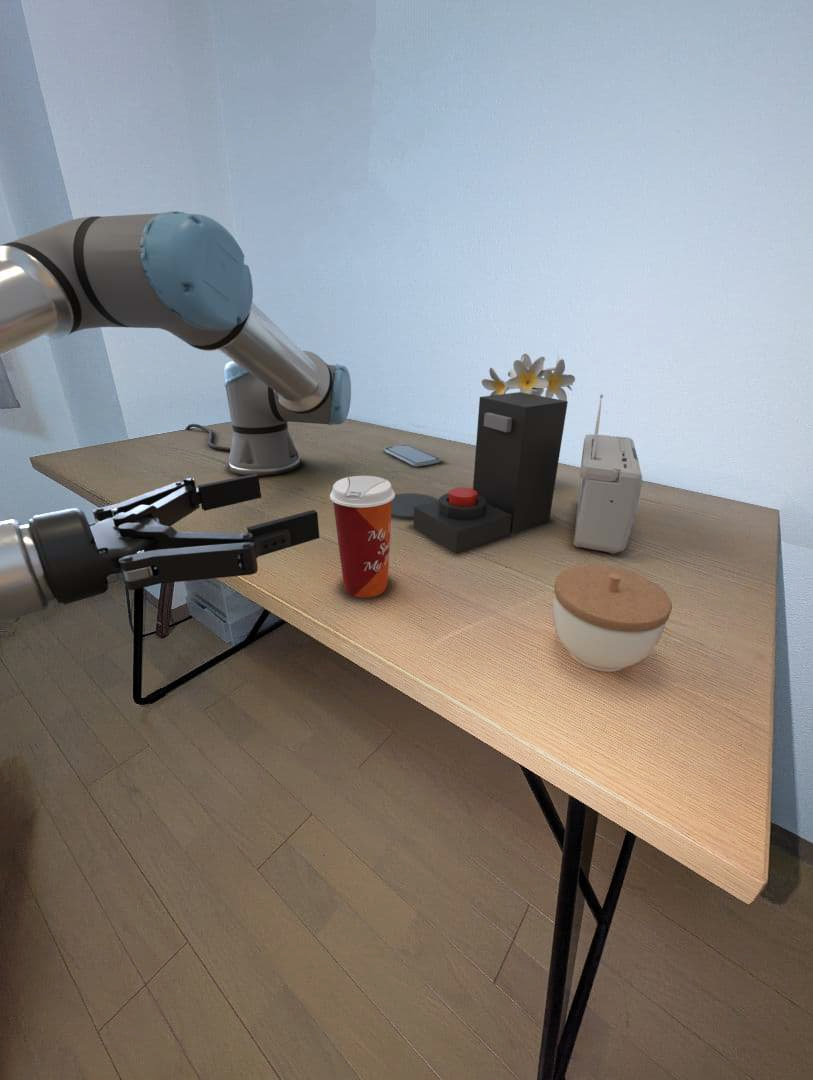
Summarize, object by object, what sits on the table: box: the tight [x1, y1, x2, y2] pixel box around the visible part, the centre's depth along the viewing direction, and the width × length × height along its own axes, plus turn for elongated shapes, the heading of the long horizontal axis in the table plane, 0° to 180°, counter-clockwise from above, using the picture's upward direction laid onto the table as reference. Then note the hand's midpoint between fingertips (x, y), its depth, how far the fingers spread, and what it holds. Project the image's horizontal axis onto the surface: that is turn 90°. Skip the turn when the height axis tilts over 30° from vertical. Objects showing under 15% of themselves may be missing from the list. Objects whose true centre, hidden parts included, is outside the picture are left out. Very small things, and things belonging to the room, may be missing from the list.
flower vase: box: [481, 352, 576, 401], centre depth 92 cm, size 13×18×25 cm
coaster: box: [391, 493, 439, 520], centre depth 85 cm, size 11×11×1 cm
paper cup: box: [329, 475, 396, 599], centre depth 58 cm, size 8×8×14 cm
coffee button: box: [448, 487, 477, 506], centre depth 74 cm, size 4×4×2 cm
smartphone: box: [384, 444, 441, 468], centre depth 114 cm, size 7×1×15 cm
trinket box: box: [552, 564, 673, 673], centre depth 48 cm, size 11×11×9 cm
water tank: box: [472, 391, 569, 534], centre depth 77 cm, size 10×10×20 cm
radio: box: [573, 393, 643, 555], centre depth 74 cm, size 21×8×20 cm, turn 160°
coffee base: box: [413, 492, 512, 554], centre depth 75 cm, size 11×11×6 cm
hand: (285, 503), depth 50 cm, fingers open, 13 cm apart
